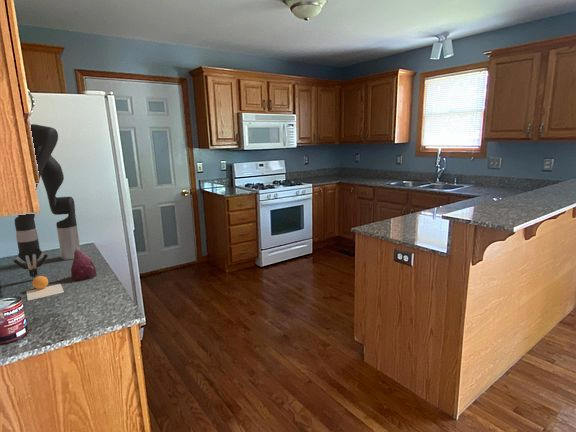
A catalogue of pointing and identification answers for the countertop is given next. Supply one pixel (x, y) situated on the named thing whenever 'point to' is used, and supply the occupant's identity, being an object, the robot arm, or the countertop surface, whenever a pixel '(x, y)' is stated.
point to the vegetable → (82, 267)
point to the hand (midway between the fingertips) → (33, 276)
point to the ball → (40, 282)
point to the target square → (44, 292)
